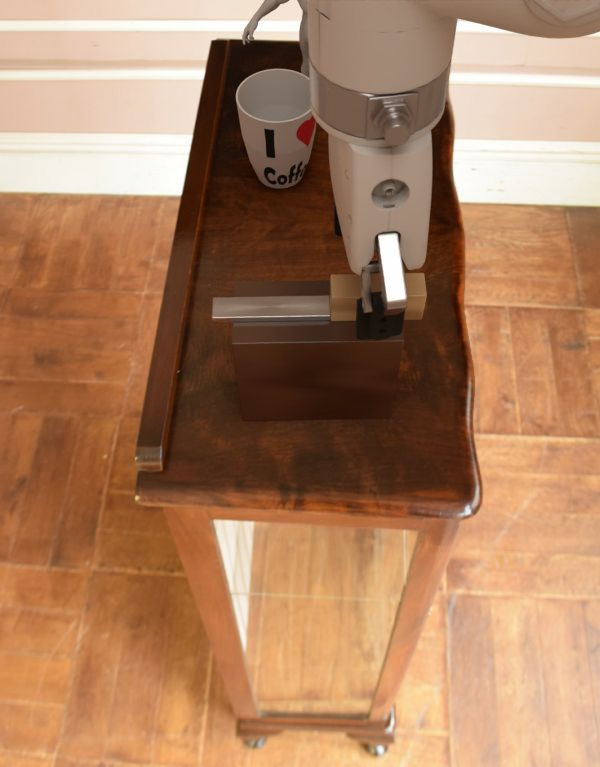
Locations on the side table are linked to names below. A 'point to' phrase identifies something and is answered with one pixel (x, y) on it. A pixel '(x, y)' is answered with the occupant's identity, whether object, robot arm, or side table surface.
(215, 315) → the knife
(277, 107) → the cup
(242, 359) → the dark rectangular block
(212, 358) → the side table surface
